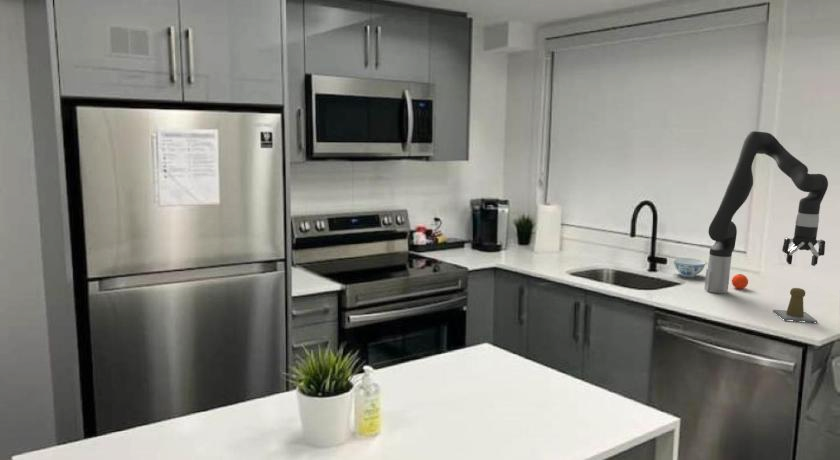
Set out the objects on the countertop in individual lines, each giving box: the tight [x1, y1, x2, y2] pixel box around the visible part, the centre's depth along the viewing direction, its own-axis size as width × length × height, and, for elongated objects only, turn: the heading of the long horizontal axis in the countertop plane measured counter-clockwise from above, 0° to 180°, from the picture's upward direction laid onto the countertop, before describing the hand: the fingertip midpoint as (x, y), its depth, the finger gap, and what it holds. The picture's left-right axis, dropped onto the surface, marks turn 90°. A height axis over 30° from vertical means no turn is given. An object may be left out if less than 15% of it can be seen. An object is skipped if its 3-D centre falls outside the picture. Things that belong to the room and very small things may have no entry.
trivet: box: [772, 309, 818, 324], centre depth 244 cm, size 12×12×1 cm
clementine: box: [731, 273, 749, 290], centre depth 286 cm, size 8×7×7 cm
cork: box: [786, 287, 806, 317], centre depth 243 cm, size 6×6×11 cm
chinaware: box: [672, 257, 707, 278], centre depth 308 cm, size 15×15×8 cm
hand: (801, 264), depth 240 cm, fingers open, 8 cm apart
